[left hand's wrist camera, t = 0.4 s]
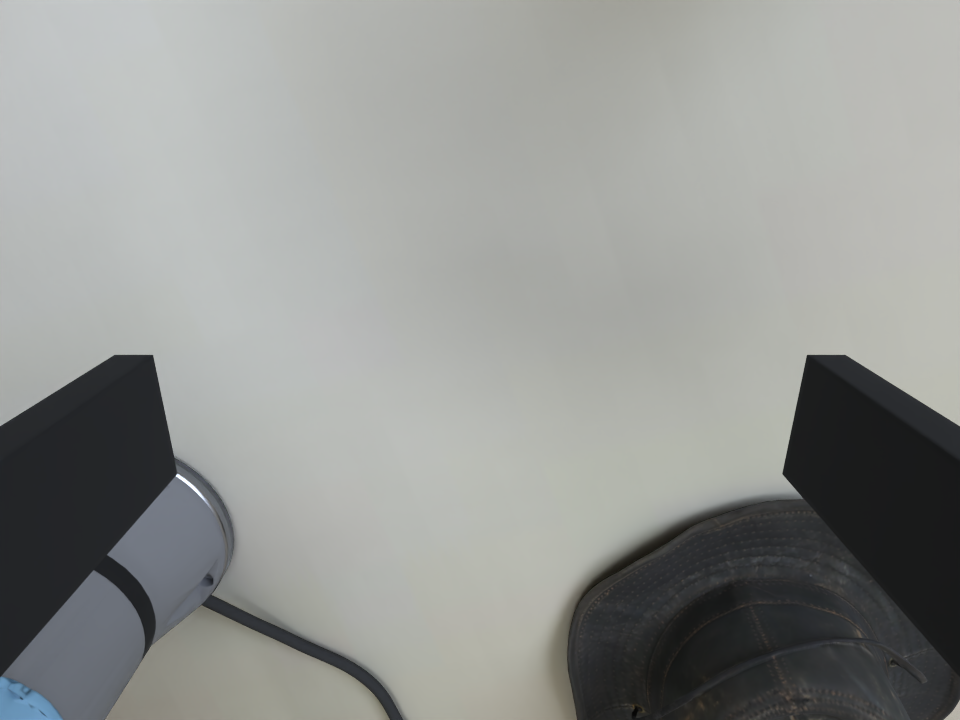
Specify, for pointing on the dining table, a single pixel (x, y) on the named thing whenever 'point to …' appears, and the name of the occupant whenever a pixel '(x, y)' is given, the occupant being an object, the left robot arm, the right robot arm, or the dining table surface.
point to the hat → (752, 631)
